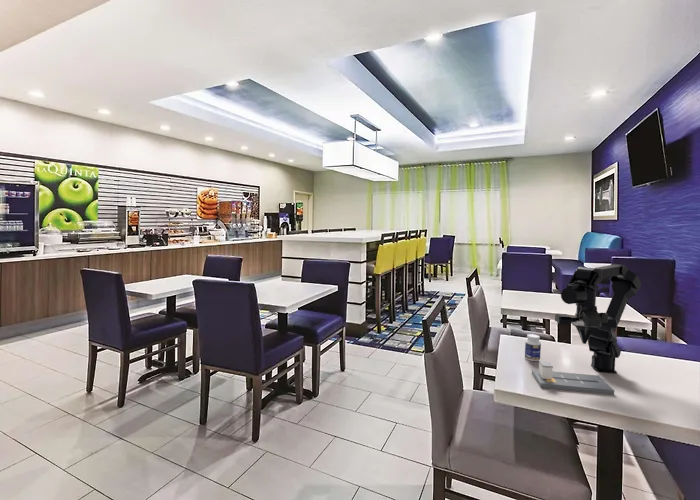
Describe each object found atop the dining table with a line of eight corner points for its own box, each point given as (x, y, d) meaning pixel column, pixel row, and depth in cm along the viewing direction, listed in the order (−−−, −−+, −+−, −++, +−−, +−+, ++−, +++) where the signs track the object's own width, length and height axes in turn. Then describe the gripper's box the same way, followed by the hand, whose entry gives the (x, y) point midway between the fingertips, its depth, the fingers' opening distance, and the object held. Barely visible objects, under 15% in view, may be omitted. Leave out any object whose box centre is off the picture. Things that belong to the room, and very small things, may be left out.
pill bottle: (534, 362, 145) (535, 338, 145) (521, 358, 150) (522, 334, 150) (543, 360, 148) (544, 336, 147) (530, 355, 153) (531, 332, 152)
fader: (547, 373, 130) (548, 360, 130) (552, 379, 125) (553, 366, 125) (538, 372, 131) (538, 360, 131) (542, 378, 126) (542, 365, 126)
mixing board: (598, 379, 130) (598, 375, 129) (614, 394, 118) (614, 390, 118) (531, 373, 135) (531, 369, 135) (540, 387, 123) (540, 382, 123)
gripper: (565, 304, 126) (563, 348, 127) (626, 308, 121) (624, 353, 123) (555, 298, 137) (553, 338, 138) (611, 301, 132) (609, 342, 133)
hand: (584, 343), depth 133 cm, fingers closed
